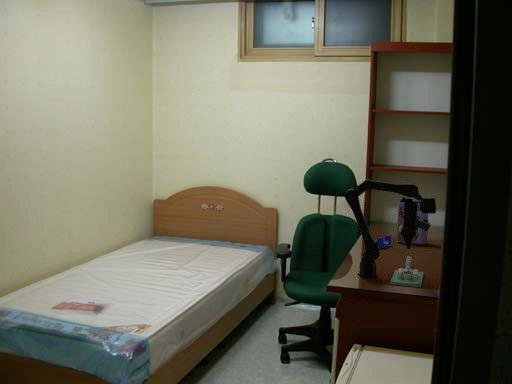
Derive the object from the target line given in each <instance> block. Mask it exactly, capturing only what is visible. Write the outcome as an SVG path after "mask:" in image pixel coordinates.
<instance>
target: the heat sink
mask: <svg viewBox="0 0 512 384" xmlns="http://www.w3.org/2000/svg"><path fill="white" fill-rule="evenodd" d="M405 265H406V264H404V265H403V266H404V267H403V268H402V267H401V268H400V267H399V268H398V269H397V270H398V272H397V278H401V279H411V280H417V277H418V272H419V269H415V267H414V265H411V268H410V271H411V273H410V274H406V273H403V271H405Z"/></svg>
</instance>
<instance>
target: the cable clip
mask: <svg viewBox="0 0 512 384" xmlns="http://www.w3.org/2000/svg"><path fill="white" fill-rule="evenodd" d="M376 240H377V242H378V245H379V247H380V248H386V249H388V248H387V247H389V248H390V246H389V245H391V246H392V236H391V235H384V238H383V237H377V238H376Z"/></svg>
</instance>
